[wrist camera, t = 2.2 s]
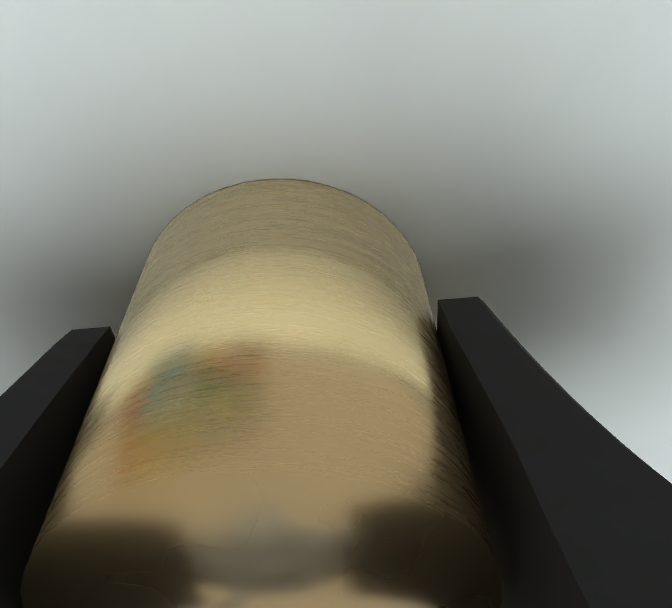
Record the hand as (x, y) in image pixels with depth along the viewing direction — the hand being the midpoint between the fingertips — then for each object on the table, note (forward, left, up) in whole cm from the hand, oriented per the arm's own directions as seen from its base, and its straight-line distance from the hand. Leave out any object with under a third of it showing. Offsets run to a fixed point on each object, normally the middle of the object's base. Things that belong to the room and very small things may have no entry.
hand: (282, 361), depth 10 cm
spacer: (0, 0, -1) cm, 1 cm away
